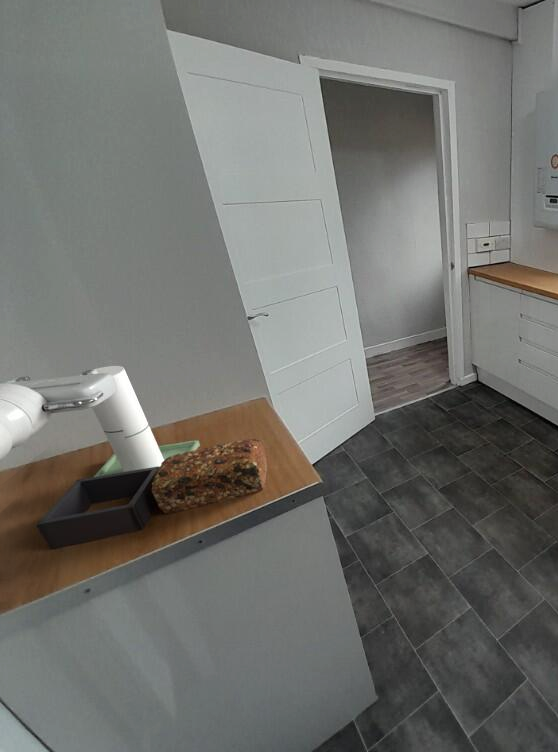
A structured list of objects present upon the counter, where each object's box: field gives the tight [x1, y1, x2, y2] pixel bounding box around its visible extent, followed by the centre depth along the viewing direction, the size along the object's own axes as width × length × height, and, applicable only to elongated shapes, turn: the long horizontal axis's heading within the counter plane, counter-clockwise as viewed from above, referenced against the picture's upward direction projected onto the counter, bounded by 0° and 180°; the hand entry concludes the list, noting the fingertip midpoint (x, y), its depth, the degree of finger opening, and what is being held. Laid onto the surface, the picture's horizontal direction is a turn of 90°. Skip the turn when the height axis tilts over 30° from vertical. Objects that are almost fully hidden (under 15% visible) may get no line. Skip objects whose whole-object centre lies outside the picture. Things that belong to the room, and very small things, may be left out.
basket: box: [35, 466, 160, 550], centre depth 82 cm, size 14×13×6 cm
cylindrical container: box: [80, 365, 164, 472], centre depth 90 cm, size 7×7×25 cm
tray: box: [93, 439, 201, 477], centre depth 96 cm, size 17×15×2 cm
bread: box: [152, 438, 268, 515], centre depth 88 cm, size 19×11×10 cm, turn 113°
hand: (60, 377), depth 73 cm, fingers open, 8 cm apart
